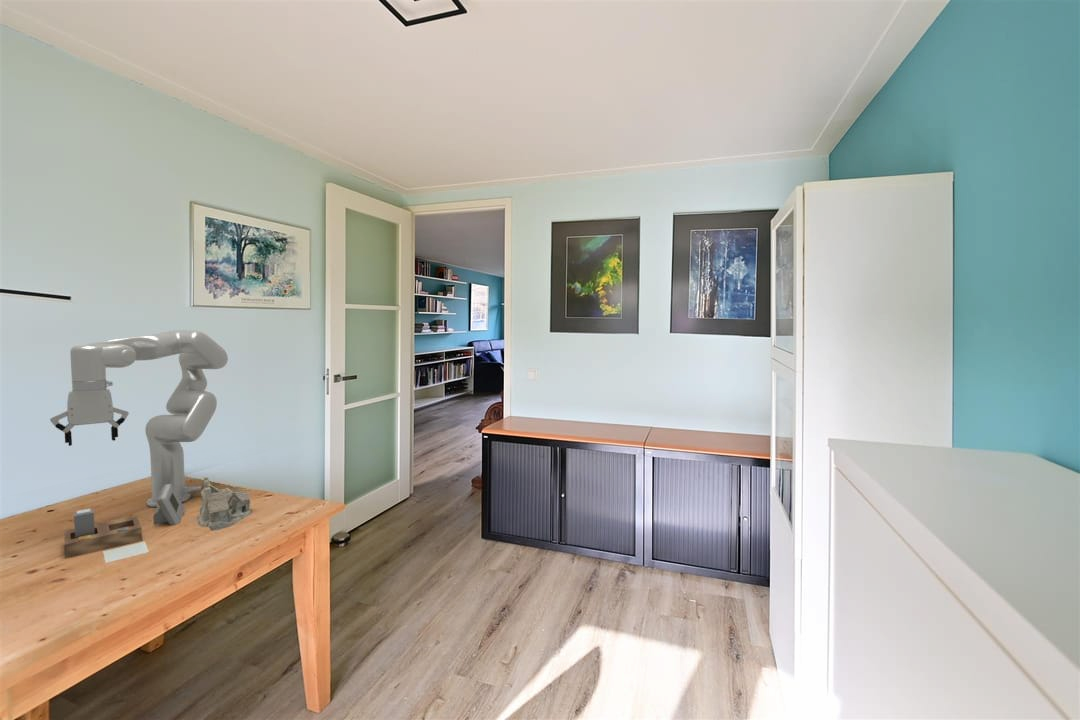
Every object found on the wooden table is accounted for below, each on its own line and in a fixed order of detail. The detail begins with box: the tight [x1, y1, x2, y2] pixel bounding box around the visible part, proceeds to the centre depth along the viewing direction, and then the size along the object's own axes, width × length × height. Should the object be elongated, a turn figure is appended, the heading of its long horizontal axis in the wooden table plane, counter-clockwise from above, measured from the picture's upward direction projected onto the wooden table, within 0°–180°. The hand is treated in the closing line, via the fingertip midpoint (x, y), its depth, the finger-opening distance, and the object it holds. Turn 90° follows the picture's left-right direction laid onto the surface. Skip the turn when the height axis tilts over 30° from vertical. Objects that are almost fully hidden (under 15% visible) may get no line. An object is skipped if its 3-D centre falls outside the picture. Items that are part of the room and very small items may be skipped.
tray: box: [102, 541, 149, 564], centre depth 133 cm, size 9×9×1 cm
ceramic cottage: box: [196, 476, 252, 532], centre depth 159 cm, size 16×16×15 cm
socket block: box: [63, 515, 143, 559], centre depth 139 cm, size 16×12×5 cm
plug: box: [73, 508, 95, 538], centre depth 136 cm, size 4×4×10 cm
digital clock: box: [153, 484, 185, 526], centre depth 157 cm, size 16×9×11 cm, turn 21°
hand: (92, 442), depth 145 cm, fingers open, 9 cm apart
